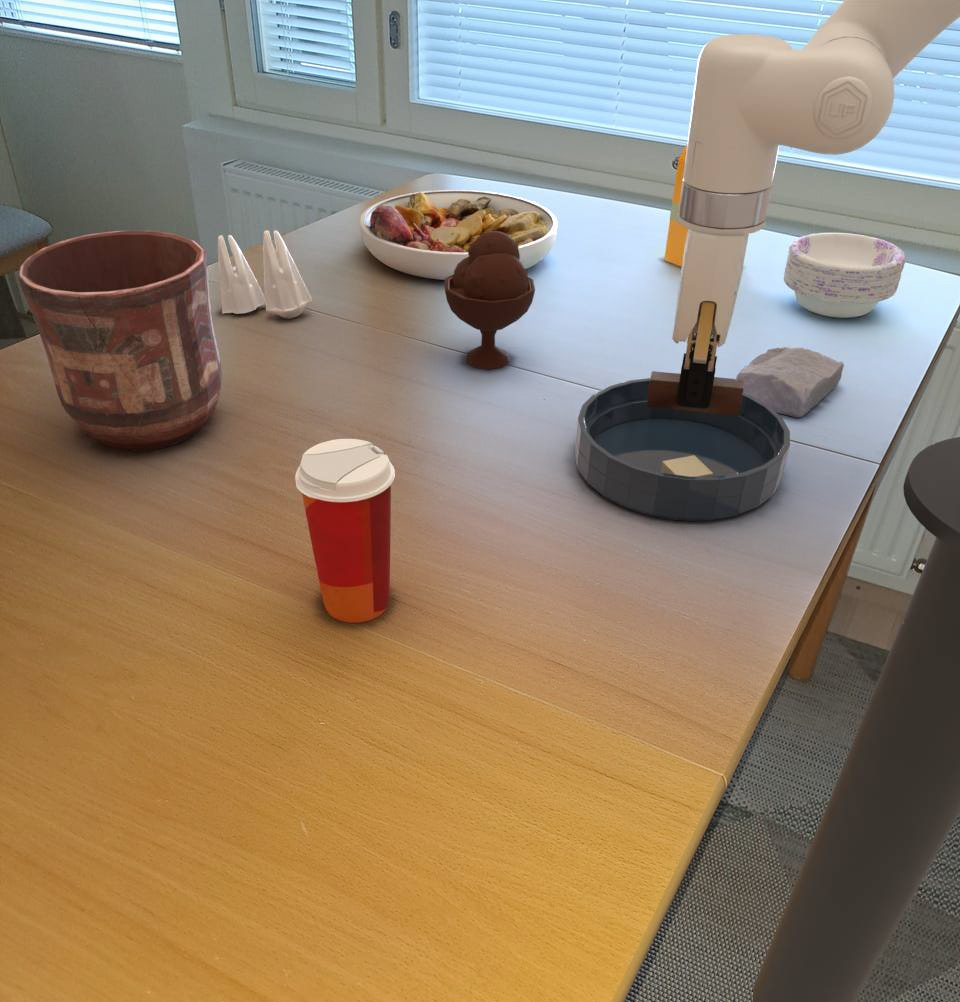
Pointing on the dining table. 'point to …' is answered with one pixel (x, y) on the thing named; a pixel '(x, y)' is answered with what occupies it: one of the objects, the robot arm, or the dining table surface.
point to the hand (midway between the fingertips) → (693, 398)
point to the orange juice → (676, 230)
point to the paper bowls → (842, 272)
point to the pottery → (127, 334)
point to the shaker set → (280, 280)
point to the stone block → (791, 379)
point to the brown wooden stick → (722, 402)
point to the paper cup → (349, 525)
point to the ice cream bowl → (490, 293)
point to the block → (686, 467)
